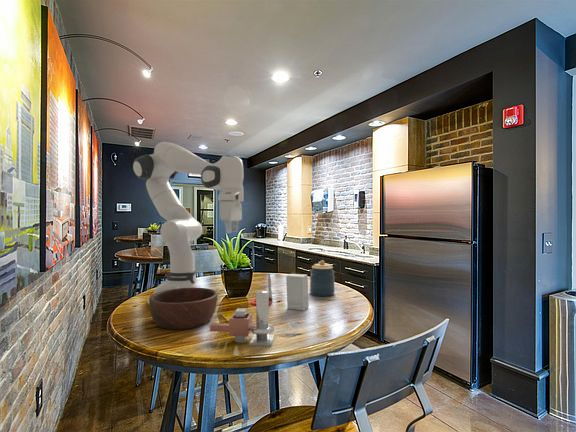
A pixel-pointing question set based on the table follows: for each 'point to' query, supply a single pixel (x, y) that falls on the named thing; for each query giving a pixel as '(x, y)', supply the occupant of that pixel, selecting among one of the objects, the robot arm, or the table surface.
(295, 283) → the skincare box
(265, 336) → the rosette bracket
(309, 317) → the table surface
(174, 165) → the robot arm
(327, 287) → the canister
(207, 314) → the wooden bowl
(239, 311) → the wedge pin
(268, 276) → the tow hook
